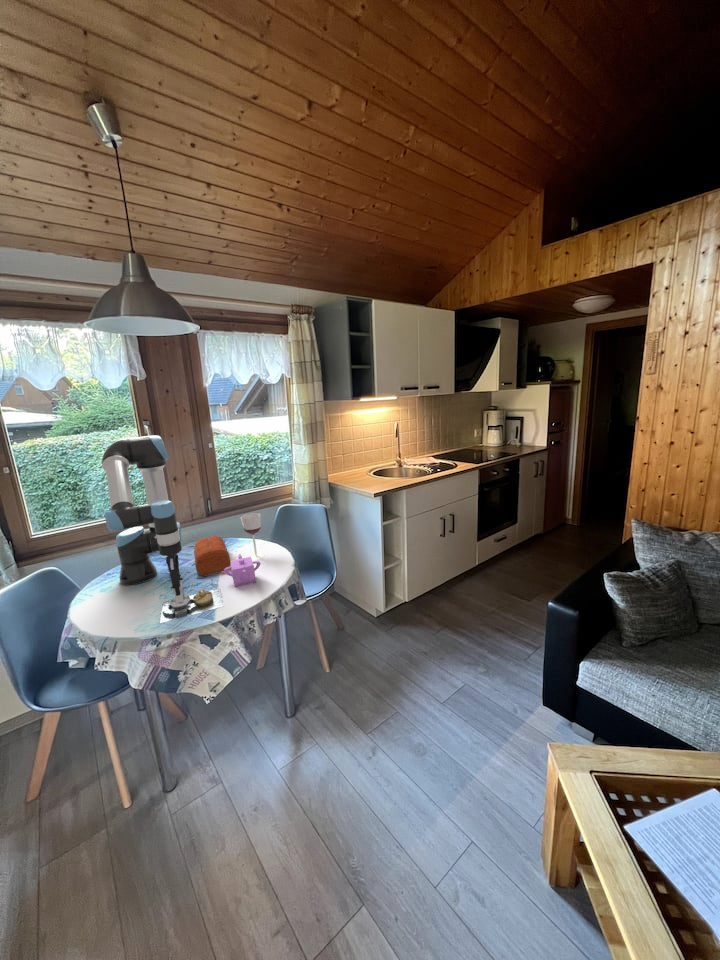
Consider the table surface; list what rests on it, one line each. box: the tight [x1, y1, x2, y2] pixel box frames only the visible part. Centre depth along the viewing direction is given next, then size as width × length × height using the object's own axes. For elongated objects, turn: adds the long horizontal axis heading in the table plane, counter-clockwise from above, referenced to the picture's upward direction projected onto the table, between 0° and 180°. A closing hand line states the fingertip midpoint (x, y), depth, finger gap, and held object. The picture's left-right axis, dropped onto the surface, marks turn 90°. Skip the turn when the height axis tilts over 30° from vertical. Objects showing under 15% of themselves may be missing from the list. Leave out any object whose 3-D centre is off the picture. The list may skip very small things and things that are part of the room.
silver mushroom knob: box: [170, 581, 191, 609], centre depth 148 cm, size 7×7×8 cm
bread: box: [193, 535, 231, 577], centre depth 190 cm, size 16×27×11 cm, turn 25°
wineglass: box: [240, 512, 266, 562], centre depth 192 cm, size 9×10×22 cm
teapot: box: [224, 553, 261, 588], centre depth 167 cm, size 15×13×11 cm
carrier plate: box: [159, 588, 225, 624], centre depth 150 cm, size 16×22×3 cm
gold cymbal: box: [193, 589, 213, 606], centre depth 151 cm, size 7×7×4 cm
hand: (180, 599), depth 148 cm, fingers closed on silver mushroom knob, 3 cm apart
